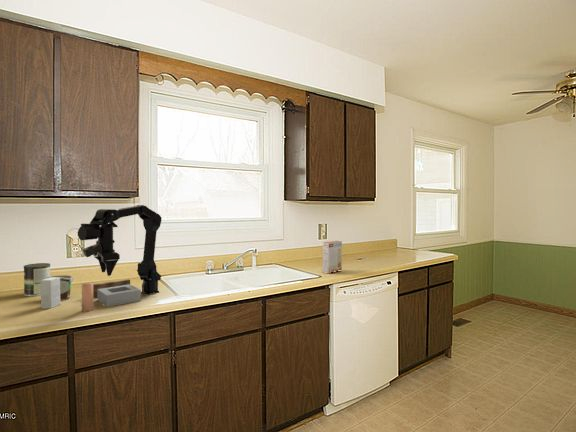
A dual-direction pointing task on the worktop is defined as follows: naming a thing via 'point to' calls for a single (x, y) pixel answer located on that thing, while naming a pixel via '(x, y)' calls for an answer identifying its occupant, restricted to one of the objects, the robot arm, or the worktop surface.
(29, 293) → the coffee can
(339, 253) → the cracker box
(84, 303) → the dowel
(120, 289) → the socket block
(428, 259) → the worktop surface
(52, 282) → the skincare box
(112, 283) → the walnut wall
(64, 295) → the food container
